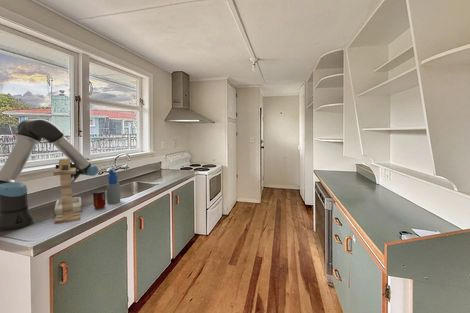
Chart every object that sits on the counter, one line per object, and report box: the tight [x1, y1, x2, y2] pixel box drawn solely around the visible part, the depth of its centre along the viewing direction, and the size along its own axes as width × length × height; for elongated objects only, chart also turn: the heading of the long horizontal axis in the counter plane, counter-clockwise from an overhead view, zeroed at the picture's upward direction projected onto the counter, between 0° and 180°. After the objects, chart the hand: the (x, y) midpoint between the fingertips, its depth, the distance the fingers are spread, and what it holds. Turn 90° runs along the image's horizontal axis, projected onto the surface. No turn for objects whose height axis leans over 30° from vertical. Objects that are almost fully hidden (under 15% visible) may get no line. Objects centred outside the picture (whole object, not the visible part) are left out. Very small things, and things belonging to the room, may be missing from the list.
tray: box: [53, 196, 83, 217], centre depth 155 cm, size 26×14×4 cm, turn 35°
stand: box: [53, 168, 82, 225], centre depth 135 cm, size 14×12×30 cm
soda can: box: [92, 189, 107, 210], centre depth 156 cm, size 7×7×12 cm
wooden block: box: [58, 158, 71, 170], centre depth 139 cm, size 18×5×6 cm, turn 35°
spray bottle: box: [105, 168, 121, 205], centre depth 169 cm, size 9×9×25 cm
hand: (65, 161), depth 139 cm, fingers closed on wooden block, 3 cm apart
